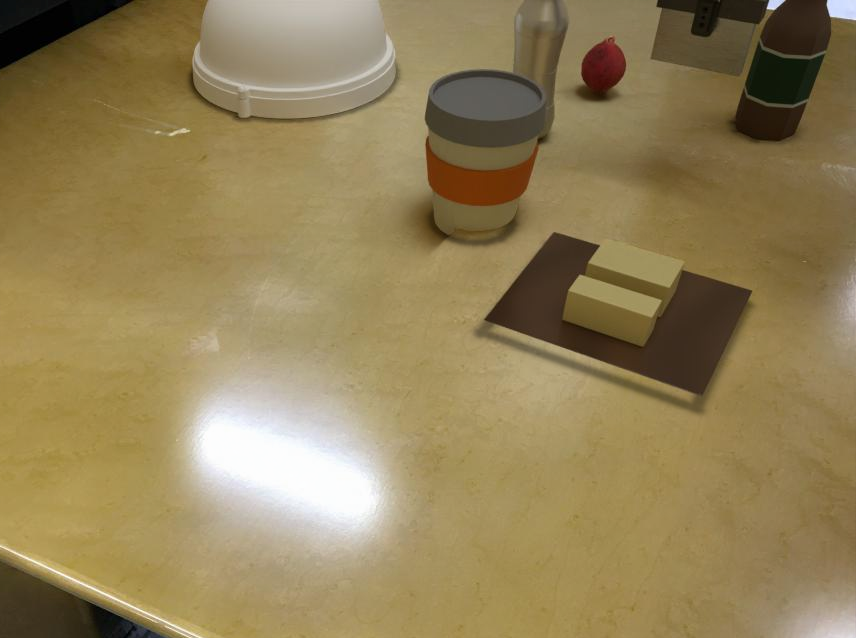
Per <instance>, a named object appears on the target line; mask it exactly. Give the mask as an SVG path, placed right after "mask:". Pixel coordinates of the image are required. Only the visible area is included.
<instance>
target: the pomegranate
mask: <svg viewBox="0 0 856 638" xmlns="http://www.w3.org/2000/svg"><path fill="white" fill-rule="evenodd" d="M615 41H616V37H615V36H614V35H613V34H610V35H607V36H606V37H604V39H603V41H601V42H599V43H597V44H595V45H594V46H593V47H592V48H590V49H589V50H588V51H587V52H586V54H585V55H584V57H583V59H582V63H581V71H580V75H581V79H582V81H583V83H584V84H585V85H586V86H587V88H588V89H590V90H591V91H592V92H593V93H595V94H597V95H601V94H603V93H605V92H607V91H608V90H610V89H612V88H614V87H616V86H617V85H618V84H619V83H620V81H622V79H623V78H624V75H625V73H626V69H627V60H626V57H625V54H624V52H623V50H622V48H621V47H620V46H619V45H617V44H616V43H615Z"/></svg>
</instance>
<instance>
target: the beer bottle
mask: <svg viewBox="0 0 856 638" xmlns="http://www.w3.org/2000/svg"><path fill="white" fill-rule="evenodd" d="M831 36H832V18H831V15H830V11H829V8H828V0H784V1H783V2H782V3H780V4H779V5H778V7H776V8H775V9H774V10H773V11H772V12H771V14H770V16H769V17H768V18H767V19H766V21H765V23H764V25H763V28H762V31H761V33H760V35H759V38H758V41H757V44H756V48H755V51H754V53H753V57H752V60H751V63H750V66H749V70H748V73H747V75H746V80H745V82H744V85H743V89H742V91H741V94H740V95H741V96H740V98H739V101H738V105H737V109H736V112H735V117H734V118H735V123H736V127H737V131H739V132H741V133H743V134H745V135H747V136H749V137H751V138H754V139H756V140H771V141H780V140H783V139H785V138H787V137H790V136H792V135H794V134H795V133H796V132H797V129H798V127H799V125H800V123H801V120H802V117H803V115H804V113H805V109H806V107H807V105H808V101H809V99H810V96H811V93H812V91H813V88H814V86H815V82H816V81H817V77H818V75H819V72H820V69H821V67H822V64H823V61H824V59H825V56H826V53H827V50H828V46H829V43H830V41H831V40H830V39H831Z"/></svg>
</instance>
